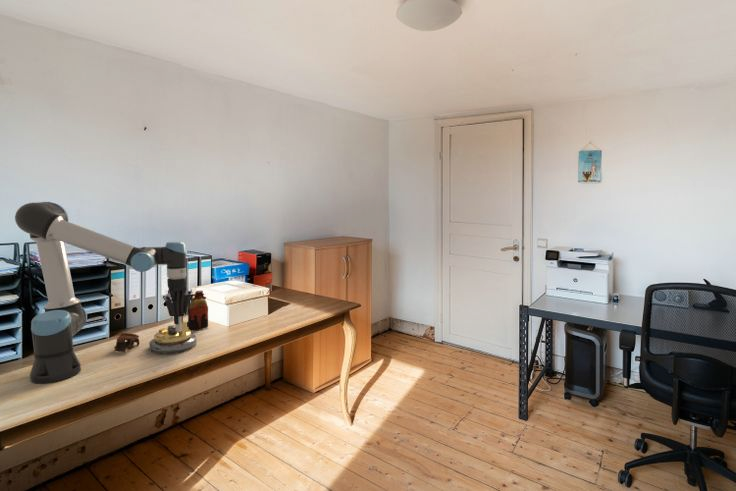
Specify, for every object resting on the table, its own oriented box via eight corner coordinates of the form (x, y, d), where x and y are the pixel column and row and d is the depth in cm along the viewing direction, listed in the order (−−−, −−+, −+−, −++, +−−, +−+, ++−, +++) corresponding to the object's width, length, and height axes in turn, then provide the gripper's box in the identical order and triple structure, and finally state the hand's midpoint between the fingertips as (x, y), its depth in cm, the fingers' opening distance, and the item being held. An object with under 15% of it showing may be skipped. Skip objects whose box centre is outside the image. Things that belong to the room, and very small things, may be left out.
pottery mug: (108, 351, 177) (114, 332, 181) (130, 355, 184) (136, 336, 187) (121, 350, 170) (127, 331, 174) (143, 354, 177) (148, 335, 180)
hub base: (161, 358, 169) (160, 337, 168) (142, 347, 181) (141, 327, 180) (204, 345, 184) (203, 326, 183) (184, 335, 196) (183, 317, 195)
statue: (206, 324, 214) (205, 287, 212) (209, 328, 208) (208, 290, 205) (181, 327, 207) (180, 289, 205) (184, 332, 201) (183, 292, 198)
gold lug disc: (146, 341, 178) (145, 322, 177) (175, 331, 192) (174, 313, 191) (170, 347, 172) (169, 327, 171) (198, 336, 186) (197, 318, 185)
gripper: (170, 280, 168) (172, 336, 170) (195, 276, 179) (196, 328, 181) (157, 279, 171) (160, 333, 173) (183, 274, 182) (184, 325, 185)
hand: (178, 330), depth 177 cm, fingers closed
